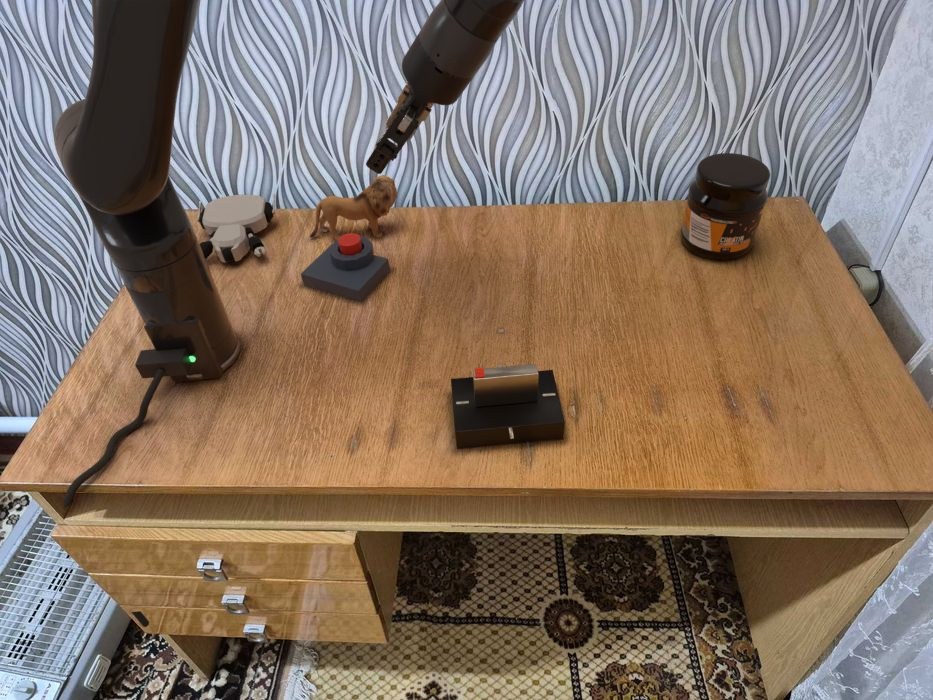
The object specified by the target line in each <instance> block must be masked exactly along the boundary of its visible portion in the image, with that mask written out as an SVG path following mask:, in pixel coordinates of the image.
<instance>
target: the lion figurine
mask: <svg viewBox="0 0 933 700" xmlns="http://www.w3.org/2000/svg"><path fill="white" fill-rule="evenodd" d="M397 198H398V190H397V187H396V184H395V179H394V178H391V177H390V176H387V175H385V174H381V175H378V176H376V177H374V178H373V179H372V182H371V184H370V185H368V186H367V187H366V188H365V189H364V190H363V191H361V192H360V193H359V194H358V195H357V196H354V197H353V196H352V197H341V196H337V195H329V196H326V197H324V198H323V199H321V200H320V201H319V202H318V204H317V206H316V210H315V225H314V229H313V230H312V231H311V233H310V235H309V236H308V237H309V238H315V236H317V233H318V230H320V232H322V233H327V232H329V233H330V234H331V235H332V236H333V238H334V240H335V241H337V240H338V239H339V238H340V237H341V236H342V235H343V234H341V235H340V234H338V232H337V226H338V225H337V224H338V217H341V218H344V219H345V220H349V221H361V220H366V221H367V222H368V226H369V229H371V233H372V234H373V236H374V237H375V238H381V237H382V236H383V233H382V231H379V226H380V225H379V219H381V217H386V216H387V215H388V214H389V213H390V209H391V208H392V207H393V205H394V204H395V203H396V200H397ZM321 212H322V215H321ZM326 223H328V224H329V227H328V226H325V225H326Z"/></svg>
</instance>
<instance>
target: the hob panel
mask: <svg viewBox="0 0 933 700" xmlns="http://www.w3.org/2000/svg"><path fill="white" fill-rule="evenodd" d="M498 367H503V363H498ZM538 373H539V377H538V401H536V402H525V403H514V404H503V405H492V406H481V407H476V406H475V398H474V384H473V376H468V377H467V376H465V377H457V378H456V377H455V378H451V379H450V385H451V387H450V388H451V398H452V411H453V412H452V413H453V424H454V435H455V436H454V437H455V446H456V449H457V450H458V449H470V448H480V447H490V446H491V447H493V446H502V445H503V446H504V445H513V444H515V445H516V444H523V443H534V442H544V441H555V440H556V441H557V440H558V441H559V440H564V438H565V427H566V420H565V416H564V412H563V407H562V403H561V400H560V395H559V390H558V386H557V382H556V377H555V374H554V369H545V370H544V369H543V370H538Z"/></svg>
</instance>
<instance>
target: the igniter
mask: <svg viewBox="0 0 933 700" xmlns="http://www.w3.org/2000/svg"><path fill="white" fill-rule="evenodd" d="M359 236H360V238H361V244H362V250H361V252H360V253H357V254H355V255H348V256H346V255H343V254H342V253H341V252H340V247H339V243H338V240H339V239H338V240H337V241H336V240H335V241H334V242H333V243H331V244H330V245H328V247H327V248H326V249H325V250H324V251H323V252H322V253H320V255H318V256H317V257H316V258H315V260H313V261H312V262H311V263H310V264H309V265H308V266H307V267H306V268H305V269H304V270H303V271H302V272H301V273H300V277H301V280H302V285H303V286H305V287H308V288H312V289H315V290H319V291H322V292H326V293H328V294H332V295H334V296H335V295H336V296H339V297H342V298H346V299H349V300H352V301H356V302H358V303H362V302H363V301H364V300H365V299H366V298H367V297H368V296H369V294H370V293H372V291H373V290H374V289H375V288H376V287H377V286H378V284H380V282H381V281H382V280H383V279H384V278H385V277H386V276H387V275H388V274H389V273H390V271H391V267H390V260H389V258H387V257H384V256H379V255H375V251H374V245H373V242H372V241H371V240H370V239H369V238H368V237H366V236H362V235H359Z"/></svg>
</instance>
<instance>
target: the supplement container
mask: <svg viewBox="0 0 933 700" xmlns="http://www.w3.org/2000/svg"><path fill="white" fill-rule="evenodd" d="M694 175H695V176H694V179H693V180H692V181H691V182H690V184H689V187H688V192H687V193H688V196H687V200H686V205H685V209H684V215H683V221H682V224H681V227H680V238H681V239H680V240H681V241H682V243H683V244H684V246H685V247H686V248H687V249H688V250H690V251H691V252H693V253H694V254H696V255H698V256H701V257H704V258H708V259H711V260H731V259H732V260H733V259H736V258H739V257H741V256H744V255H745V254H747V253H748V252H750V250H751V249H752V247H753V246H754V243H755V240H756V236H757V232H758V229H759V226H760V222H761V220H762V216H763V212H764V208H765V206H766V204H767V202H768V200H769V199H768V198H769V195H768V194H769V193H768V190H767V188H768V185H769V183H770V179H771V171H770V169H769V167H768V166H767V165H766V164H765V163H764V162H763V161H761V160H759V159H757V158H755V157H752V156H750V155H746V154H743V153H734V152H723V153H722V152H721V153H715V154H711V155H708V156H706V157H704V158H703V159H701V160H700V161H699V162H698V164H697V167H696V171H695V174H694Z"/></svg>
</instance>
